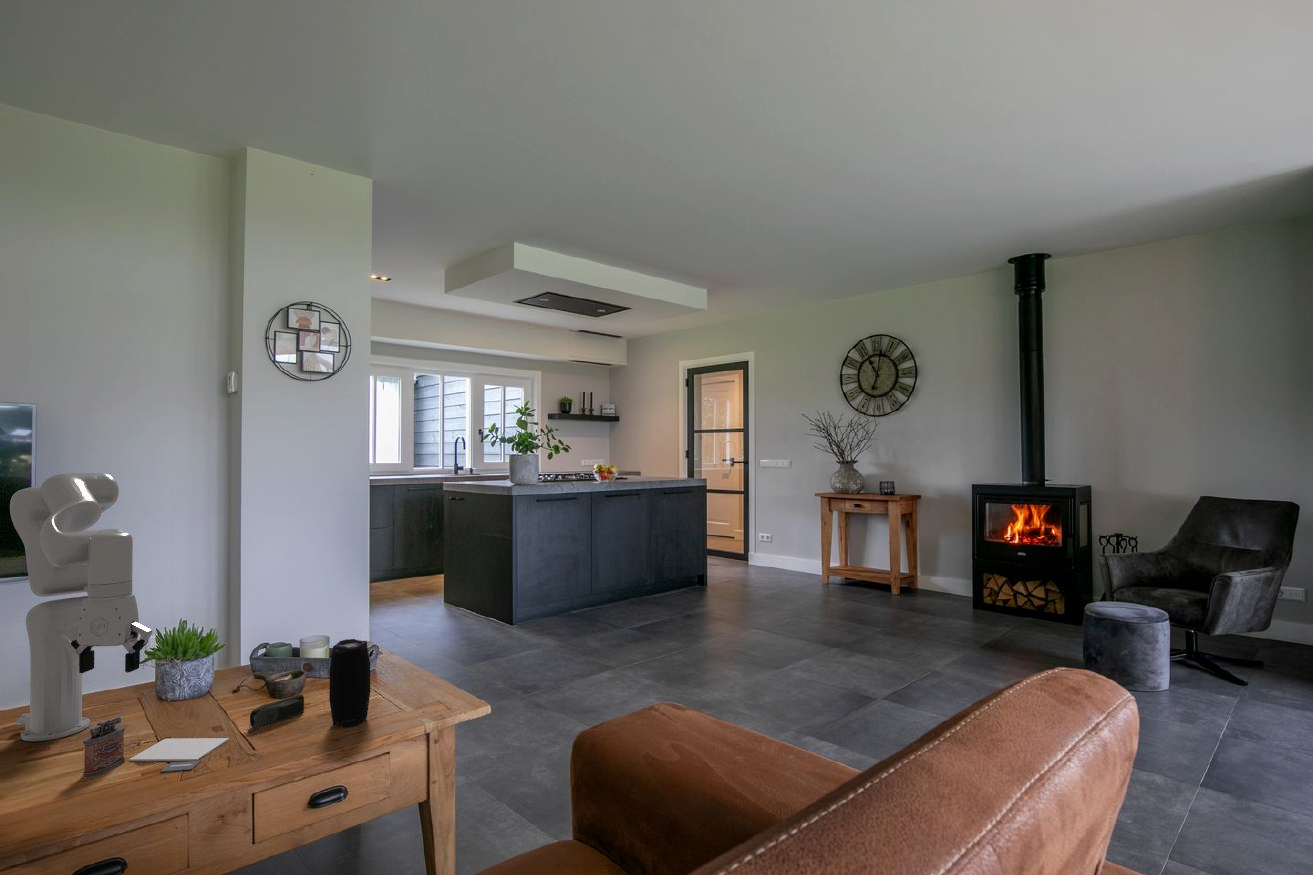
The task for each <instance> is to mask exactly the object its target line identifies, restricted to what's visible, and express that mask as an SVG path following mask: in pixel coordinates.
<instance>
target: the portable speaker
mask: <svg viewBox="0 0 1313 875" xmlns="http://www.w3.org/2000/svg"><path fill="white" fill-rule="evenodd" d="M330 657H331V659H330V664H329V677H328V678H329V685H328V686H329V688H328V689H329V694H328V695H329V699H328V700H329V706H330V714H331V721H332V724H333V725H335V724H338V725H339V726H341V727H342V729H344V728H346V729H347V728H352V727H355V726H359V725H360V723H361V721H363V720H367V718H368V713H369V705H370V698H371V697H370V696H371V661H370V660H371V659H370V655H369V649H368V641H367V640H361V639H355V638H350V639H349V638H348V639H342V640H339V641H338V642H337V643H336V644H335V645H333V646H332V652H331V656H330Z"/></svg>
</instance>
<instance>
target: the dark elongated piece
mask: <svg viewBox="0 0 1313 875" xmlns="http://www.w3.org/2000/svg"><path fill="white" fill-rule="evenodd" d="M304 712H305V696H304V695H303V694H297V695H294V696H290V697H286V698H282V699H280V700H276V701H271V702H269V703H264V704H262V705H259V706H258V707H256V708H254V709H252V711H251V712H250V715H249V722H250V726H251V728H249V729H247V730H246V732H247V733H251V732H254V731H255V730H256V729H257V730H260V729H262V728H266V727H268V725H269V726H272V725H274V724H277V723H280V722H283V721H285V720H289V719H292V718H294V717H297V716H300V715H302V714H303V713H304ZM271 724H272V725H271ZM265 726H266V727H265ZM261 727H262V728H261ZM259 728H260V729H259Z"/></svg>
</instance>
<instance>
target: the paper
mask: <svg viewBox="0 0 1313 875" xmlns="http://www.w3.org/2000/svg"><path fill="white" fill-rule="evenodd" d="M228 741H230V737H227V738H226V737H224V738H223V737H219V738H218V737H216V738H215V737H214V738H213V737H210V738H207V737H205V738H202V737H200V738H197V737H195V738H188V737H187V738H183V737H182V738H179V737H178V738H164V739H162V740H160V741H158V742H157V743H155V744H153V745H152V746H150V747H148V748H146V749H144V750H143V751H141V752H139V753H138V754H136V755H134V756H133V757H130V758H129V759H128V762H188V761H197V760H198V761H200V760H201V759H202V757H203V756H204V757H206V756H207V755H209V754H210V753H212V752H213V751H215V750H217V749H218V748H219V747H220V745H221V746H222V745H224V744H225V743H226V742H228ZM214 749H215V750H214ZM205 755H206V756H205ZM204 757H203V758H204ZM200 758H201V759H200ZM199 759H200V760H199Z"/></svg>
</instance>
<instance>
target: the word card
mask: <svg viewBox="0 0 1313 875" xmlns="http://www.w3.org/2000/svg"><path fill="white" fill-rule="evenodd" d="M200 763H202V760H198V761H174V762H170V763H168V765H166V766H165V767H164V768H162V769H161V770H160V772H159V773H160V774H162V773H173V772H174V771H176V772H183V771H182V770H189V771H192V770H191V769H193V768H194V767H195V766H196V767H197V766H198V765H199V764H200ZM197 764H198V765H197ZM196 767H195V768H196ZM195 768H194V769H195ZM194 769H193V770H194ZM174 773H175V772H174Z"/></svg>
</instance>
